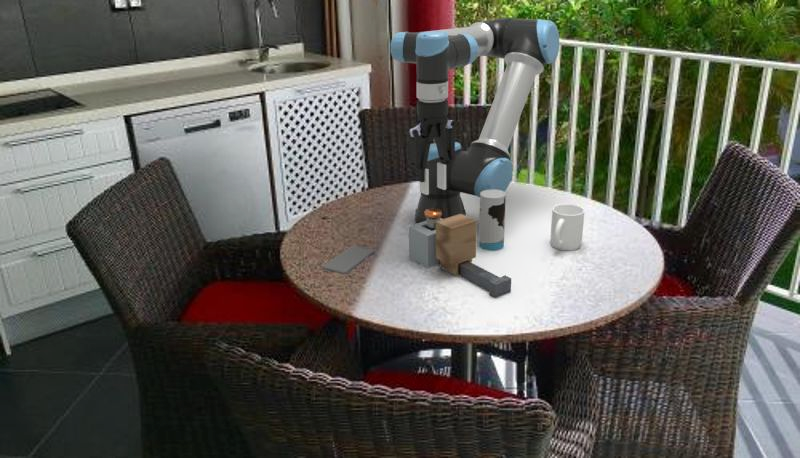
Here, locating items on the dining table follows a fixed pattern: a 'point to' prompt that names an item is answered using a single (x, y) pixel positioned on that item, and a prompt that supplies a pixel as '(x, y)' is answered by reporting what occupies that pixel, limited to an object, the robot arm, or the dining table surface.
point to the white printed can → (492, 219)
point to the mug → (567, 226)
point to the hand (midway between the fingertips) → (433, 190)
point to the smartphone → (348, 259)
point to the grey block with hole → (422, 244)
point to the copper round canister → (432, 217)
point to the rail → (484, 279)
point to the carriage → (455, 241)
